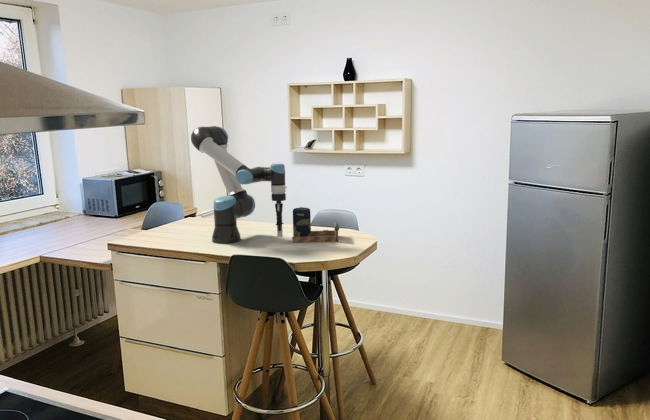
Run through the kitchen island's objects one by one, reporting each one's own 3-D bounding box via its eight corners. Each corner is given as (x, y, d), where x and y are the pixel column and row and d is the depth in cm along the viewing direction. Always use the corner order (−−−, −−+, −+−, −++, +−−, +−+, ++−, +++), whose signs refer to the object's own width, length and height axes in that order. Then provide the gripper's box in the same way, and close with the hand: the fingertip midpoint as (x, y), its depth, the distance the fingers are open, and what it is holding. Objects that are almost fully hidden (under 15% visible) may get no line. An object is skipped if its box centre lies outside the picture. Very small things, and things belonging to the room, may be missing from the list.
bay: (292, 242, 274) (292, 227, 273) (293, 236, 290) (293, 221, 288) (339, 241, 275) (339, 226, 274) (337, 235, 290) (337, 220, 289)
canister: (312, 237, 286) (311, 205, 283) (309, 241, 277) (309, 208, 274) (294, 237, 287) (294, 205, 284) (292, 241, 278) (291, 208, 275)
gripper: (285, 194, 271) (286, 239, 275) (286, 191, 284) (287, 233, 288) (270, 194, 271) (272, 239, 275) (272, 191, 284) (273, 234, 288)
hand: (279, 236), depth 282 cm, fingers closed
